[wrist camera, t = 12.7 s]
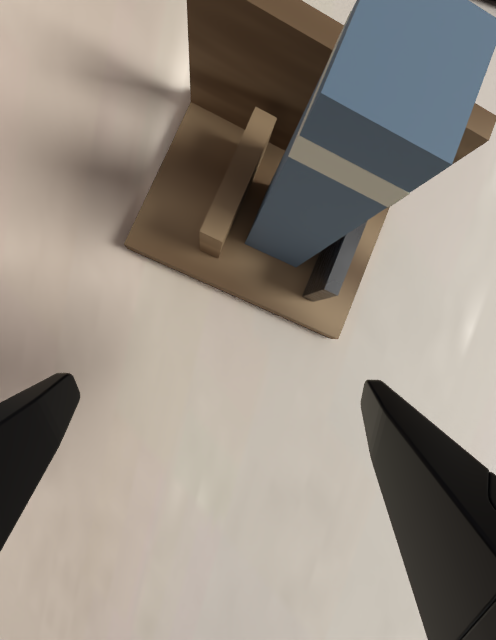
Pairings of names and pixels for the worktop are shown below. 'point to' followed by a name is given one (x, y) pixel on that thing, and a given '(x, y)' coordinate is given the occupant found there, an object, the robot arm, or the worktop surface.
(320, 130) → the blue tall block
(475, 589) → the robot arm
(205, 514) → the worktop surface
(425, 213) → the worktop surface
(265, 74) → the stand
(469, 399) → the worktop surface
